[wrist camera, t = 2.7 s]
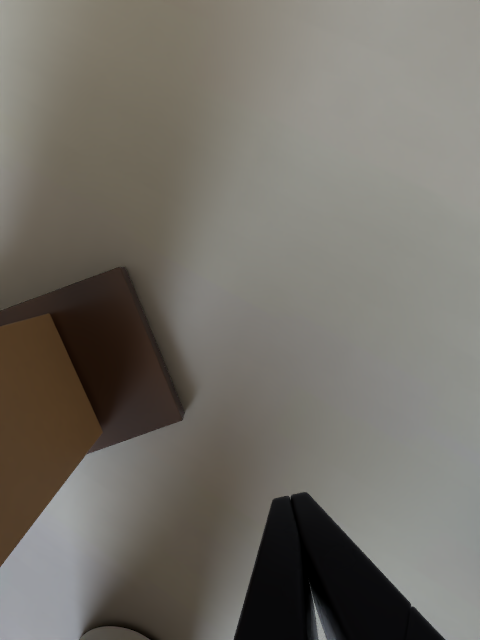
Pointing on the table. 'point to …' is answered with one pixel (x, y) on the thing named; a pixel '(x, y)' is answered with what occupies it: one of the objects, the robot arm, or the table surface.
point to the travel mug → (112, 634)
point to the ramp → (110, 354)
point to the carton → (37, 424)
